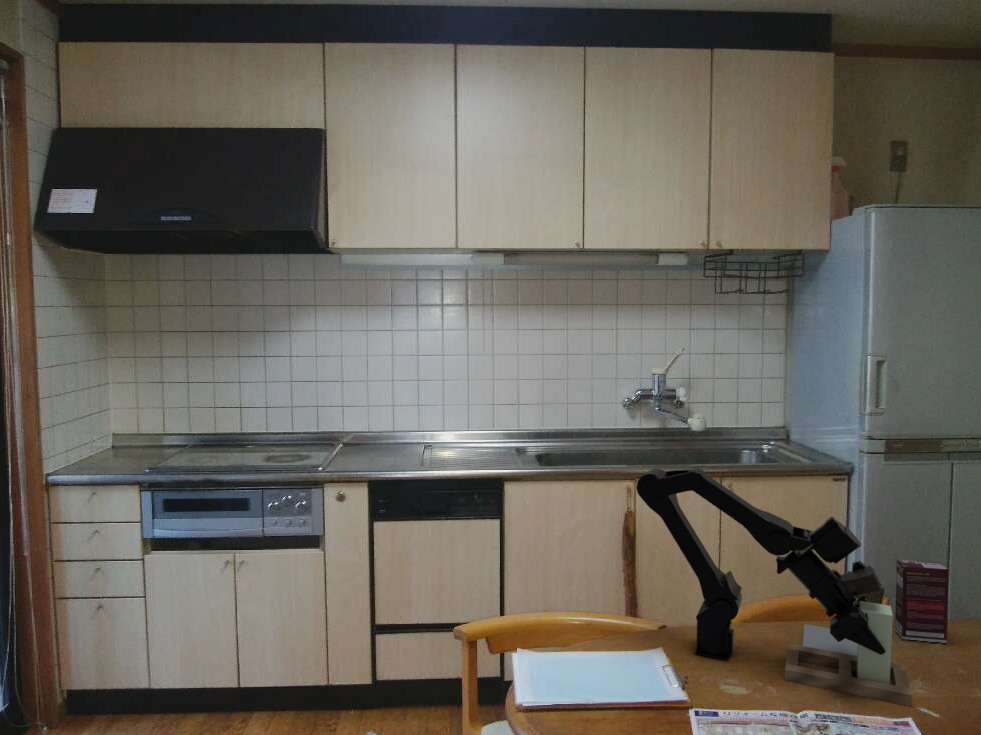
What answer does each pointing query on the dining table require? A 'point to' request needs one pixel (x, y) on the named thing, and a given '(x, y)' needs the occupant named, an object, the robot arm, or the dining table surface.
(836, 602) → the robot arm
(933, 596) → the supplement box
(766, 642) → the dining table surface
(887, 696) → the puzzle board
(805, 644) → the grey mat
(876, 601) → the dark olive textured piece
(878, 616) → the sage block
